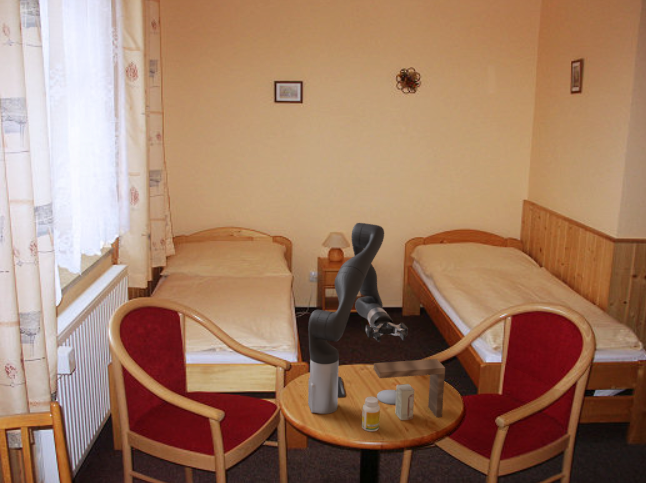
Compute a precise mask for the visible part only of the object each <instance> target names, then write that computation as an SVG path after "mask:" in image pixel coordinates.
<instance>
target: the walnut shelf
mask: <svg viewBox="0 0 646 483" xmlns="http://www.w3.org/2000/svg"><path fill="white" fill-rule="evenodd" d="M373 371H374V372H375V373H376V375H377V376H378V378H379V379H391V378H402V377H414V376H415V377H417V376H429V388H428V389H429V390H428V402H427V403H428V404H427V405H428V406H427V407H428V409H429V410H430V411H431V413H432V414H433V415H434V416H435V418H441V417H443V406H444V392H445V391H444V389H445V376H446V367H445V366H444V365H443V364H442V362H440V361H439V360H438V358H431V359H417V360H415V359H414V360H402V361H401V360H400V361H389V362H374V363H373Z"/></svg>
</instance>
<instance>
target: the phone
mask: <svg viewBox="0 0 646 483" xmlns="http://www.w3.org/2000/svg"><path fill="white" fill-rule="evenodd" d="M345 396H346V391H345V387H344V383H343V379H342V376H339V375H338V398H345Z"/></svg>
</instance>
